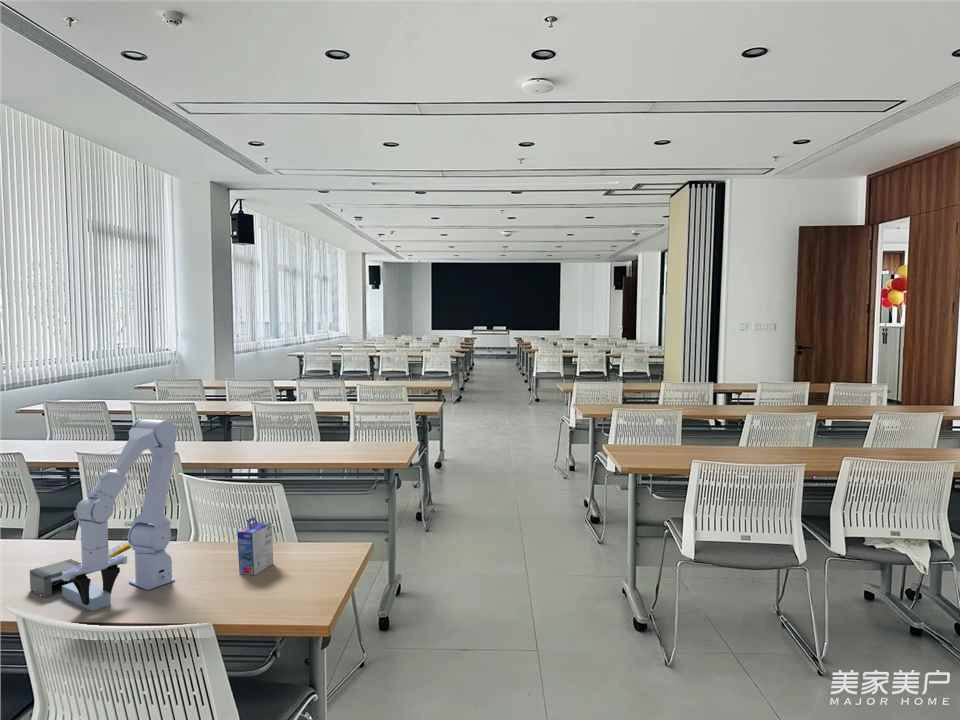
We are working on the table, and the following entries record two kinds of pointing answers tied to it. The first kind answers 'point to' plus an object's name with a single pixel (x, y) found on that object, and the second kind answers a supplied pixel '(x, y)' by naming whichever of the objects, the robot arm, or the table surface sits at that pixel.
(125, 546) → the candy bar
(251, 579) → the table surface
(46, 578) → the gray block
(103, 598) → the pale blue rectangular block
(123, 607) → the table surface
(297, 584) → the table surface
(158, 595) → the table surface
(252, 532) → the ink cartridge box
